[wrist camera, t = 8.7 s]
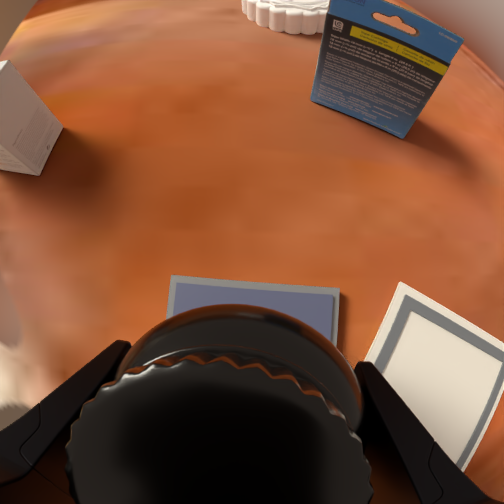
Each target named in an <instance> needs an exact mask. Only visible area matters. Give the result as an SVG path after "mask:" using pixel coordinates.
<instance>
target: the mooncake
mask: <svg viewBox="0 0 504 504" xmlns="http://www.w3.org/2000/svg"><path fill="white" fill-rule="evenodd" d="M329 1H330V0H242V11H243V13H244V14H246V15H247V17H248V19H249V20H251V21H254V22H256V23H257V24H258V25H259V26H261V27H269V28H270V29H271V30H273V31H276V32H282V31H285V32H286V33H289V34H299V33H303V34H306V35H312V34H315V33H316V32H318V33H323V28H324V22H325V16H326V12H327V11H328V6H329Z"/></svg>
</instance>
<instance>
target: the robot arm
mask: <svg viewBox="0 0 504 504" xmlns="http://www.w3.org/2000/svg"><path fill="white" fill-rule="evenodd" d="M131 347H132V346H131V344H130V342H128V341H123V340H117V341H115V342H114V343H112V344H111V345H110V346H109V347H107V348H106V349H105V350H104V351H102V352H101V353H100V354H99V355H97V356H96V357H95V358H94V359H92V360H91V361H90V362H89V363H87V364H86V365H85V366H84V367H82V368H81V369H80V370H79V371H77V372H76V373H75V374H74V375H72V376H71V377H70V378H69V379H68V380H66V381H65V382H64V383H63V384H61V385H60V386H59V387H58V388H56V389H55V390H54V391H53V392H52V393H50V394H49V395H48V396H47V397H45V398H44V399H43V400H42V401H41V402H40V403H38V404H37V405H35V406H34V407H33V408H32V409H31V410H29V411H28V412H27V413H25V414H24V415H23V416H22V417H20V418H19V419H18V420H16V421H15V422H13V423H12V424H10V425H9V426H7V427H6V428H4V429H3V430H1V431H0V504H76V503H75V502H74V500H73V499H72V497H71V495H70V493H69V480H68V478H67V476H66V473H65V470H64V469H65V465H66V463H67V456H66V451H65V446H66V444H67V443H68V442H69V441H70V439H71V425H72V424H73V423H74V422H75V421H76V420H77V419H79V418H80V413H81V409H82V406H83V404H84V403H85V402H87V401H89V400H91V399H93V398H95V396H96V394H97V392H98V391H99V389H100V387H101V386H102V385H103V384H105V383H108V382H111V381H112V379H113V377H114V374H115V372H116V370H117V368H118V366H119V364H120V363H121V361H122V359H123V358H124V356H125V355H126V354H127V352H128V351H129V350H130V348H131ZM354 372H355V374H356V376H357V378H358V381H359V383H360V385H361V388H362V391H363V394H364V397H365V401H366V406H367V412H368V438H367V445H366V449H365V453H364V455H365V457H366V458H367V459H368V460H369V462H370V463H371V467H372V469H371V476H370V482H371V484H372V486H373V488H374V495H373V497H372V499H371V502H370V504H504V502H500V501H497V500H495V499H492V498H491V497H489V496H487V495H486V494H485V493H484V492H483V491H481V490H480V489H479V488H478V487H477V486H476V485H475V484H474V483H473V482H472V481H471V480H470V479H469V478H468V477H467V476H466V475H465V474H464V473H463V472H462V471H461V470H460V468H459V467H458V466H457V465H456V464H455V463H454V462H453V461H452V460H451V459H450V458H449V456H448V455H447V454H446V453H445V452H444V450H443V449H442V448H441V447H440V446H439V444H438V443H437V442H436V441H434V438H433V437H432V436H431V434H430V433H429V432H428V431H427V429H426V428H425V427H424V426H423V424H422V423H421V422H420V421H419V419H418V418H417V417H416V416H415V414H414V413H413V412H412V411H411V410H410V408H409V407H408V406H407V405H406V403H405V402H404V401H403V400H402V398H401V397H400V396H399V395H398V394H397V392H396V391H395V390H394V389H393V387H392V386H391V385H390V384H389V383H388V381H387V380H386V379H385V378H384V376H383V375H382V374H381V373H380V372H379V370H378V369H377V368H376V367H375V366H374V364H373V363H372V362H370V361H360V362H358V363H357V364H356V367H355V369H354Z"/></svg>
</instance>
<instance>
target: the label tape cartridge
mask: <svg viewBox="0 0 504 504" xmlns="http://www.w3.org/2000/svg"><path fill="white" fill-rule="evenodd" d="M373 13H380V14H382V15H385V16H387V17H392V16H398V17H399V18H400V19H401V21H402V23H404V24H406V25H409V26H410V27H412V28H414V29H415V30H416V33H415V34H410V33H407V32H405V31H403V30H401V29H398V28H396V27H394V26H391V25H389V24H386V23H384V22H381V21H379V20H376V19H375V18H374V17H373ZM463 42H464V38H462V37H460V36H458V35H456V34H455V33H453V32H451V31H449V30H447V29H445V28H443V27H442V26H440V25H438V24H436V23H434V22H432V21H430V20H428V19H426V18H424V17H422V16H419V15H417V14H415V13H413V12H411V11H409V10H406V9H404V8H402V7H400V6H397V5H394V4H392V3H389V2H387V1H384V0H330V1H329V6H328V11H327V12H326V16H325V22H324V28H323V34H322V40H321V46H320V51H319V56H318V61H317V66H316V72H315V77H314V81H313V86H312V91H311V96H310V99H311V101H313V102H316V103H319V104H322V105H324V106H327V107H330V108H332V109H335V110H337V111H340V112H343V113H345V114H348V115H350V116H352V117H355V118H357V119H360V120H362V121H364V122H367V123H369V124H371V125H374V126H376V127H378V128H380V129H383V130H385V131H387V132H389V133H391V134H393V135H395V136H397V137H399V138H402V139H403V138H404V137H405V136H406V134H407V133H408V131H409V130H410V128H411V127H412V125H413V124H414V122H415V121H416V119H417V118H418V116H419V115H420V113H421V112H422V110H423V108H424V107H425V105H426V104H427V102H428V100H429V99H430V97H431V96H432V94H433V93H434V91H435V89H436V88H437V86H438V84H439V83H440V81H441V80H442V78H443V76H444V75H445V73H446V71H447V70H448V68H449V66H450V64H451V60H452V59H453V57H454V56H455V54H456V53H457V51H458V49H459V48H460V46H461V45H462V43H463Z"/></svg>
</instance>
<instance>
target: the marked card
mask: <svg viewBox="0 0 504 504" xmlns="http://www.w3.org/2000/svg"><path fill="white" fill-rule="evenodd" d="M364 361H370V362H372V363H373V364H374V366H375V367H376V368H377V369H378V370H379V372H380V373H381V374H382V375H383V376H384V378H385V379H386V380H387V381H388V383H389V384H390V385H391V386H392V387H393V389H394V390H395V391H396V392H397V394H398V395H399V396H400V397H401V398H402V400H403V401H404V402H405V403H406V405H407V406H408V407H409V408H410V410H411V411H412V412H413V413H414V414H415V416H416V417H417V418H418V419H419V421H420V422H421V423H422V424H423V426H424V427H425V428H426V429H427V431H428V432H429V433H430V434H431V436H432V437H433V438H434V441H436V442H437V443H438V444H439V446H440V447H441V448H442V449H443V450H444V452H445V453H446V454H447V455H448V456H449V458H450V459H451V460H452V461H453V462H454V463H455V464H456V465H457V466H458V467H459V468H460V470H461V471H462V472H464V470H465V469H466V467H467V465H468V463H469V462H470V460H471V458H472V456H473V455H474V453H475V451H476V449H477V447H478V445H479V443H480V441H481V439H482V437H483V435H484V433H485V431H486V429H487V427H488V425H489V423H490V421H491V419H492V416H493V414H494V412H495V410H496V407H497V405H498V403H499V400H500V398H501V395H502V393H503V390H504V343H503V342H501V341H499V340H498V339H496V338H495V337H493V336H491V335H490V334H488V333H487V332H485V331H483V330H482V329H480V328H479V327H477V326H475V325H474V324H472V323H470V322H469V321H467V320H465V319H464V318H462V317H460V316H459V315H457V314H455V313H454V312H452V311H450V310H449V309H447V308H445V307H444V306H442V305H440V304H439V303H437V302H435V301H434V300H432V299H430V298H428V297H427V296H425V295H423V294H421V293H420V292H418V291H416V290H415V289H413V288H411V287H409V286H408V285H406V284H404V283H402V282H399V283H398V286H397V288H396V291H395V293H394V296H393V298H392V301H391V303H390V305H389V308H388V310H387V312H386V315H385V317H384V319H383V321H382V324H381V326H380V328H379V330H378V332H377V334H376V337H375V339H374V341H373V343H372V345H371V347H370V349H369V351H368V353H367V355H366V357H365V359H364Z"/></svg>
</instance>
